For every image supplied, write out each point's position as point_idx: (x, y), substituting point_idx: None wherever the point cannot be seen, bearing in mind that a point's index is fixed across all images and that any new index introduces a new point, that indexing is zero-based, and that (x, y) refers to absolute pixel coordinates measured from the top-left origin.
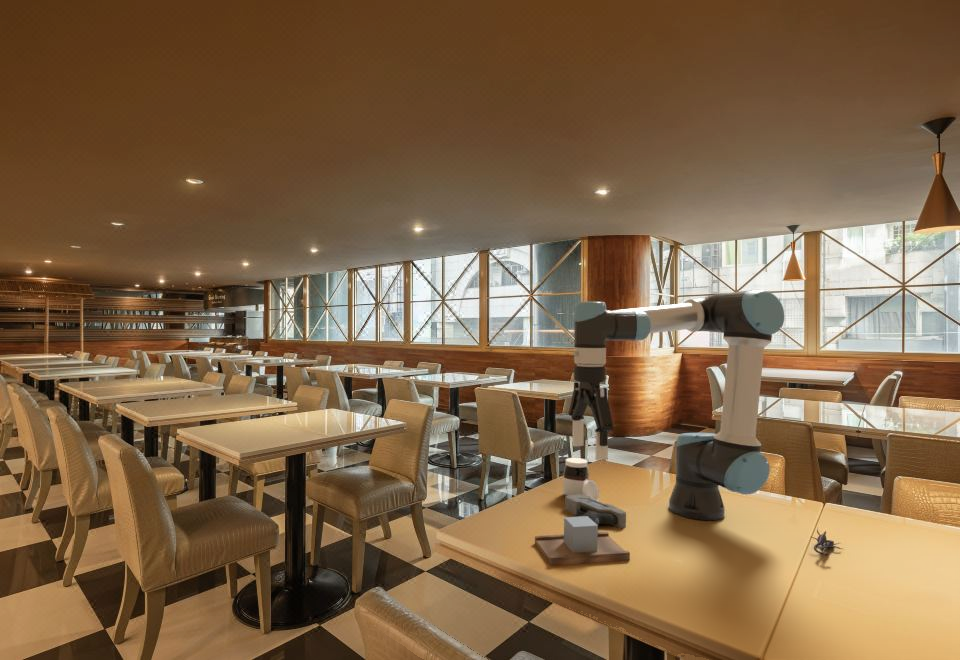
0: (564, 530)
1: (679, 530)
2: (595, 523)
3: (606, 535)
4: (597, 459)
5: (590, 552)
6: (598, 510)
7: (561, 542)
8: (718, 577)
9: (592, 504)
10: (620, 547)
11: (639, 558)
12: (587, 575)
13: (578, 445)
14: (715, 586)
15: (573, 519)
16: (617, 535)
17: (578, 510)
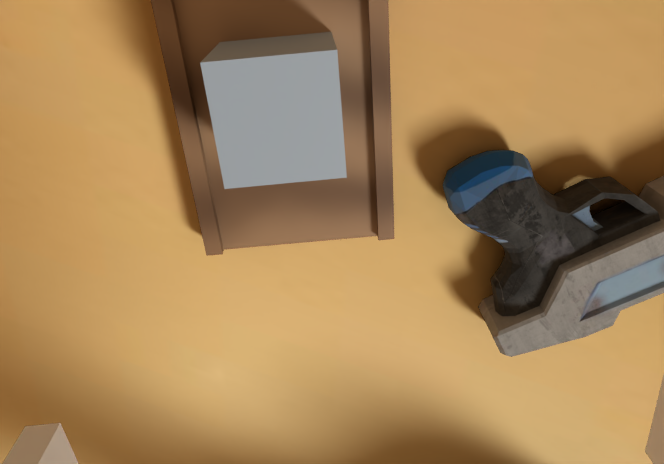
0: (326, 40)
1: (426, 449)
2: (249, 185)
3: (377, 228)
4: (24, 435)
5: None
6: (563, 269)
7: (327, 19)
8: (117, 420)
9: (625, 265)
10: (272, 242)
11: (228, 276)
12: (75, 52)
13: (660, 412)
14: (63, 394)
15: (306, 93)
16: (416, 271)
17: (609, 192)
